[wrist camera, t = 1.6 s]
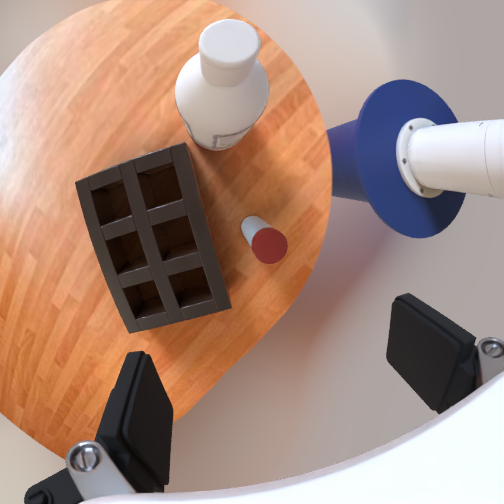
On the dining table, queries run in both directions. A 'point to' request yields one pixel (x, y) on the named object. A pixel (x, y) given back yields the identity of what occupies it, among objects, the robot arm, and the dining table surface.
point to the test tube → (264, 240)
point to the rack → (153, 242)
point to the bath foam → (223, 85)
